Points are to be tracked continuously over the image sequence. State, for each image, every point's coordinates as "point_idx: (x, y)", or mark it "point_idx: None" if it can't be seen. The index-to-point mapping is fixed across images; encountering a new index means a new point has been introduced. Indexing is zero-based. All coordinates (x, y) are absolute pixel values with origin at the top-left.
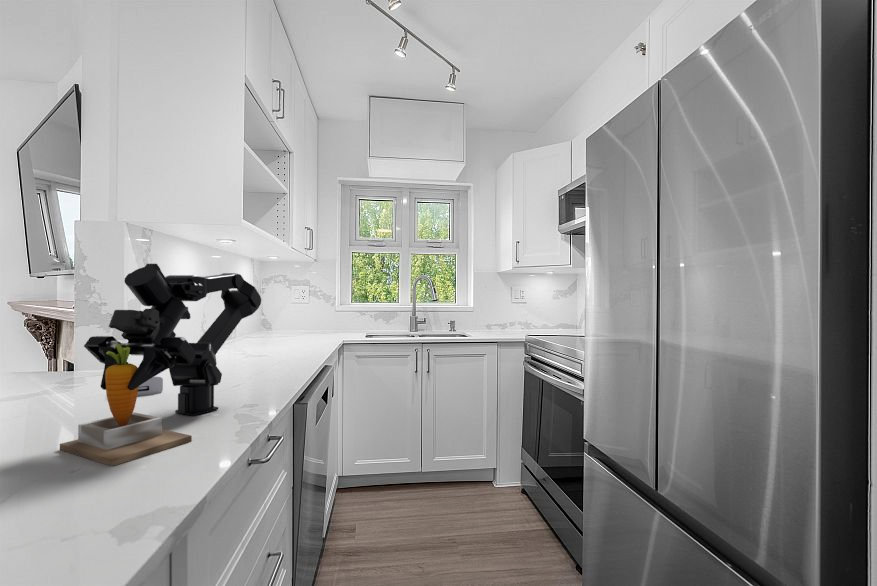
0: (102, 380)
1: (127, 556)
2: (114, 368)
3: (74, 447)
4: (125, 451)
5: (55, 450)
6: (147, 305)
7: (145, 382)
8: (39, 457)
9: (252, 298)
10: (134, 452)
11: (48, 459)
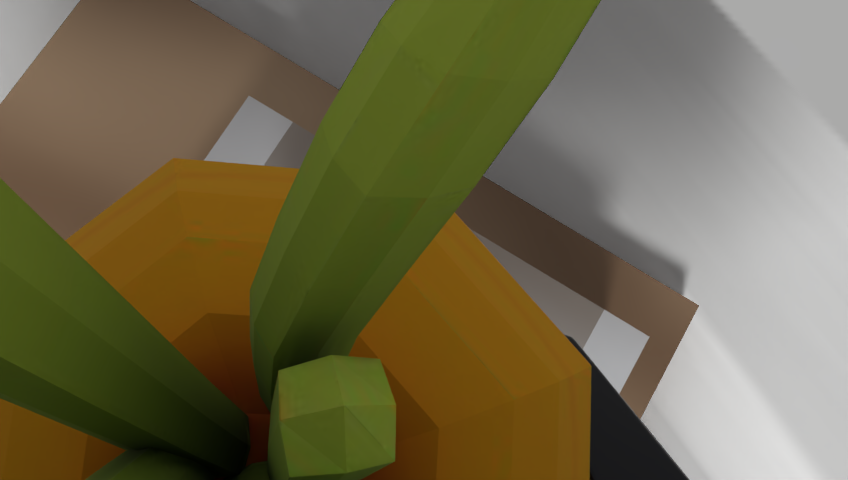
0: (605, 393)
1: None
2: (285, 187)
3: (533, 216)
4: (111, 96)
5: (702, 303)
6: None
7: None
8: (696, 176)
9: None
10: (35, 72)
11: (610, 135)
